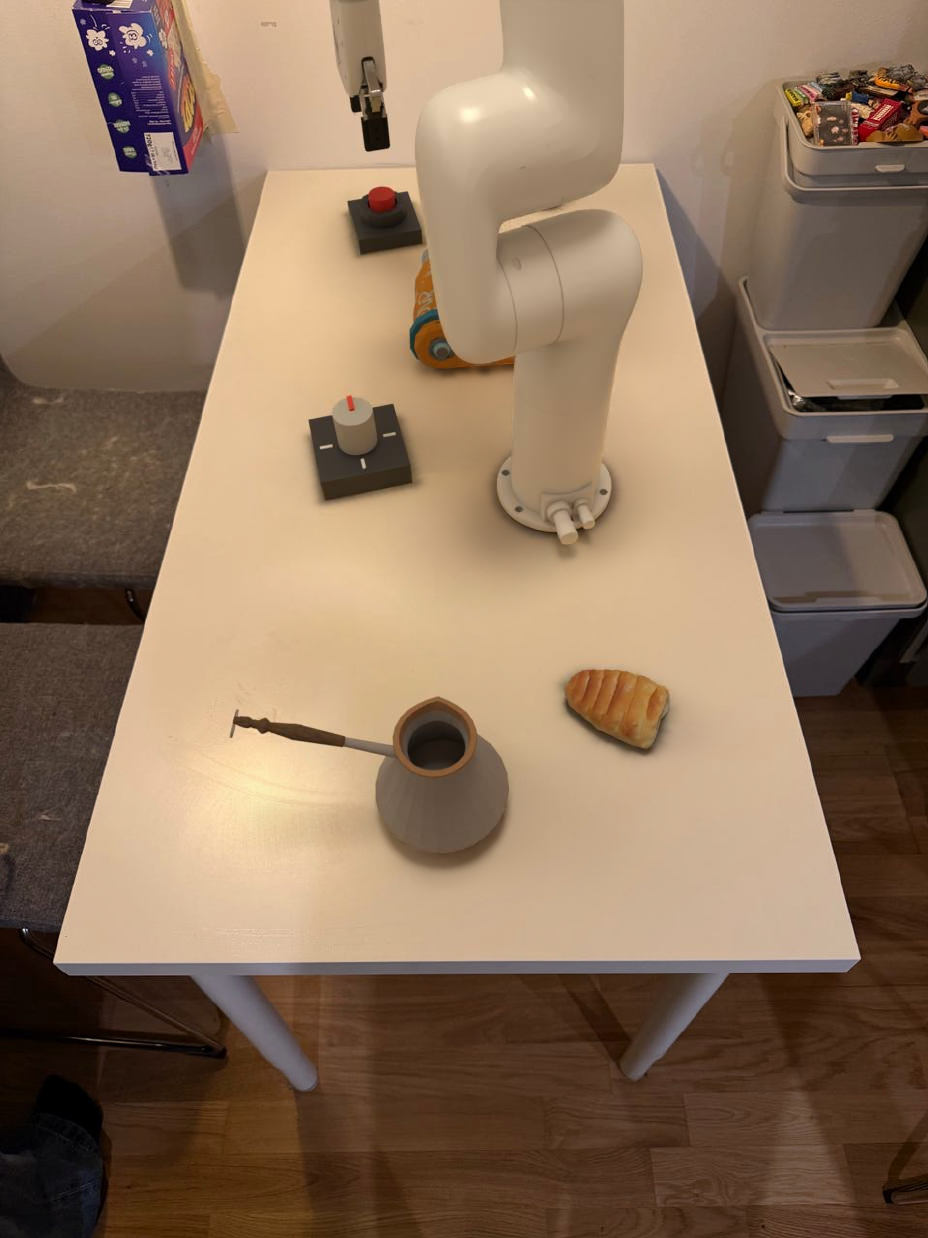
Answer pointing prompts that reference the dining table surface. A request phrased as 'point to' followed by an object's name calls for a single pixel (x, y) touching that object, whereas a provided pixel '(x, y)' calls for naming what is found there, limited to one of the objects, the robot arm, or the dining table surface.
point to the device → (433, 327)
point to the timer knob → (355, 425)
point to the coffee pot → (425, 774)
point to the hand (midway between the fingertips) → (370, 129)
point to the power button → (381, 199)
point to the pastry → (619, 704)
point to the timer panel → (361, 457)
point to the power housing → (385, 224)
